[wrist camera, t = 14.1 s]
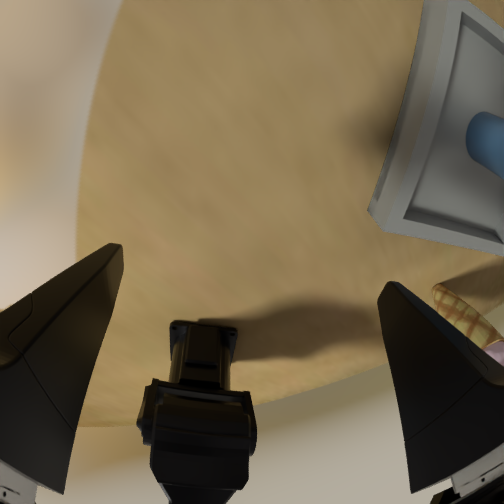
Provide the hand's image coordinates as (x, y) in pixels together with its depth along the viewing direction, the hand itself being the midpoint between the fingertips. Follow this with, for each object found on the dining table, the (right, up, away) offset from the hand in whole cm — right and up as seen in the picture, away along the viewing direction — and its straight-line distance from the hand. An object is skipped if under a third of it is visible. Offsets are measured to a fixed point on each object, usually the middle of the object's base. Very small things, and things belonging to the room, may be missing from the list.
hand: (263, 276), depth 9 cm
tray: (+18, +10, +8) cm, 22 cm away
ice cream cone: (+19, -3, +18) cm, 26 cm away
